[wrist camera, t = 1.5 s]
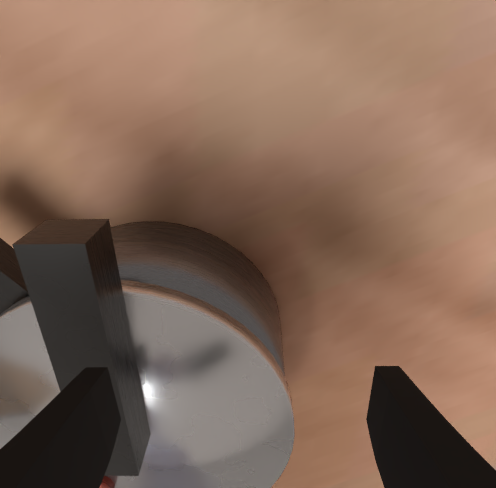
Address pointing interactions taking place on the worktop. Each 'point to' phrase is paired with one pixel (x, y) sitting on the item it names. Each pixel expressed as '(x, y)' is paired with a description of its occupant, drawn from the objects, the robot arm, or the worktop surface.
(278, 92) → the worktop surface
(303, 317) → the worktop surface
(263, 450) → the cooker lid
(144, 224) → the cooker pot
